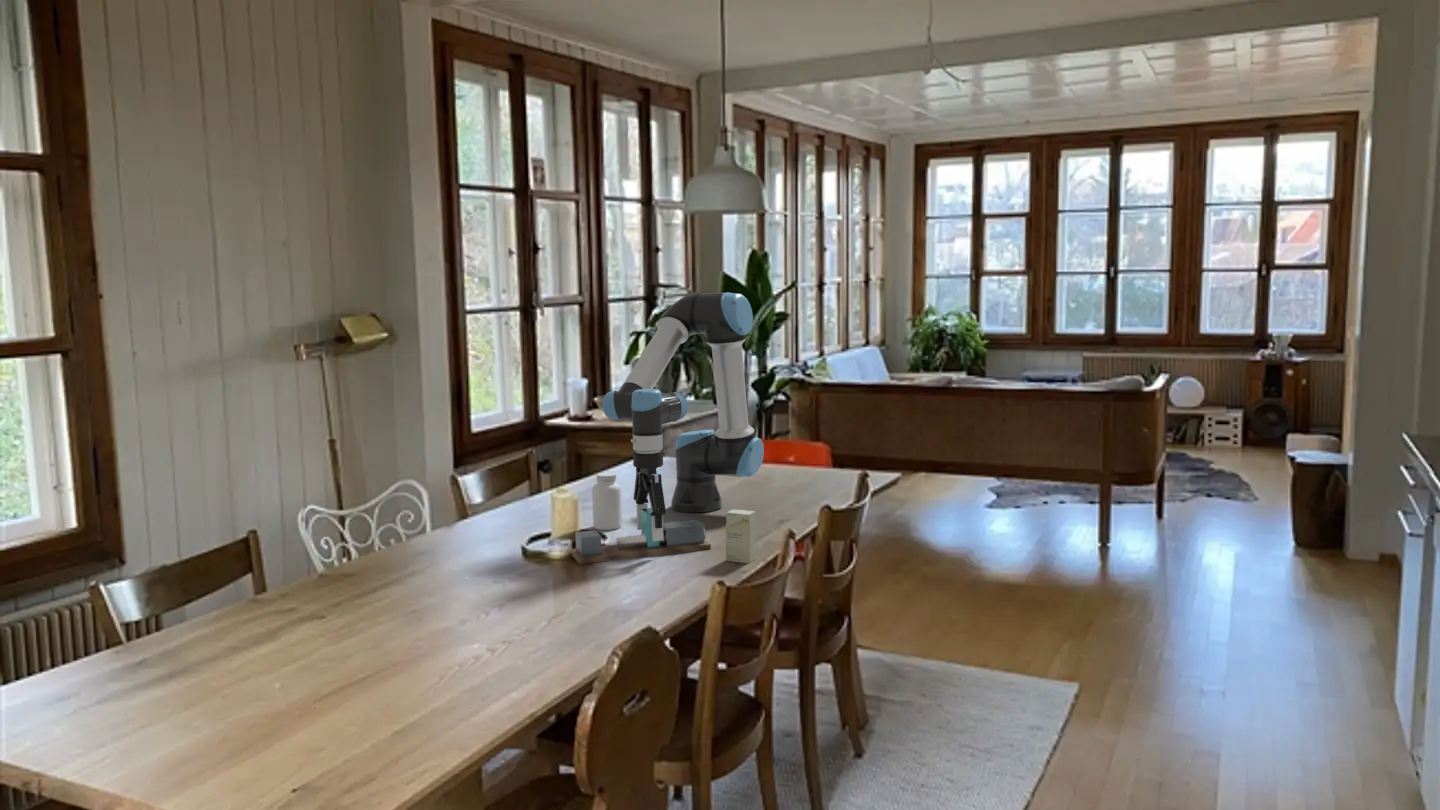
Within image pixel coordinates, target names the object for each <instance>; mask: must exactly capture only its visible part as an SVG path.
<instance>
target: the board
mask: <svg viewBox="0 0 1440 810" xmlns="http://www.w3.org/2000/svg"><path fill="white" fill-rule="evenodd" d="M711 549H712V544H711V543H709V542H708V541H706V539H704V543H700V544H691V545H682V546H673V547H666V544H659V547H653V548H647V547H646V546H640V547H631V548H622V549H618V548H617V544H610V545H601V552H602V555H594V556H585V557H581V556H580V555H579V554H578V553H577V551H576V548H574V549H570V550H571V552H572V555H571V557H572V558H574V560H575V561H576V562H577V563H578V564H579V565H583V564H594V563H602V562H609V561H618V560H627V559H635V558H644V557H652V556H662V555H671V554H679V553H686V552H687V553H689V552H695V551H697V552H698V551H705V550H711Z"/></svg>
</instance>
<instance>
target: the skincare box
mask: <svg viewBox="0 0 1440 810" xmlns="http://www.w3.org/2000/svg"><path fill="white" fill-rule="evenodd" d="M725 516H726V518H725V519H726V520H725V521H726V522H725V523H726V524H725V527H726V529H725V531H726V532H725V542H726V543H725V561H726V562H735V563H740V564H750V563H752V562H753V561H755V560H756V556H755V555H756V547H755V546H756V510H746V509H736V508H735V509H734V508H732V509H730V510H728V511H726V514H725Z"/></svg>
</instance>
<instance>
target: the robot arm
mask: <svg viewBox="0 0 1440 810" xmlns="http://www.w3.org/2000/svg"><path fill="white" fill-rule="evenodd" d="M753 323H754V315H753V309H752V307H751V304H750V302H749V299H748V298H746V297H745V296H744V295H743V294H742V293H733V292H707V293H706V292H704V293H702V292H694V293H690V294H687V295H685V296H683V297H681V298H680V299H677V300H676V302H674V303H673V304H671V306H670V307H668V308H667V309H666V310H665V311H664V313H663V314H662V315H661V316H660V318H659V320H658V322H657V324H656V327H657V329H656V331H655V333H654V335H653V336H652V338H651V339H650V341H649V342H648V344H647V345H646V347H645V349H644V350H643V352H642V354H640V356H639V359H638V360H637V361H636V363H635V364H634V366H633V367H632V369H631V371H630V372H629V374H628V375H627V377H626V379H625V380H624V382H623V383H622V385H621V386H620V389H619V390H618V391H617V390H613V391H612V390H611V391H608V392H607V393H606V394H604V397H603V400H602V411H603V413H604V415H605V417H606V418H608V419H610V420H616V421H621V422H622V421H632V438H631V439H630V442H631V444H632V449H633V450H634V451H633V453H632V457H633V458H632V460H633V461H632V463H633V464H632V465H633V467H634V468H635V483H634V491H633V500H634V501H635V504H636V530H637V531H638V530H639V531H642V530H641V509H646V508H649V507H648V503H650V508H652V512H651V514H650V516H652V541H661V540H663V523H664V515H666V513H667V510H666V503H665V497H664V488H663V484H662V481H663V480H662V474H661V473H657V468H661V467H662V466H664V452H663V451H662V450H663V449H664V434H663V424H664V425H665V424H668V423H669V424H670V423H675V422H678V421H680V420H681V419H683V418H685V416H686V415H687V413H688V409H689V405H688V400H687V399H686V396H684V395H683V394H682V393H680V392H677V391H676V392H674V391H673V392H672V391H669V392H666V393H664V392H663V393H662V392H661V390H660V389H657V388H654V387H655V386H656V384H657V383H658V381H659V379H660V378H661V376H662V375H663V373H664V371H665V370H666V368H667V366H668V365H669V363H670V362H671V359H672V358H673V357H674V355H675V353H676V352H677V349H678V348H679V347H680V345H681V344H683V343H685V342H686V341H688V338H689V337H691V336H694V335H698V334H699V335H704V337H705V344H707V345H708V346H710V348H711V354H712V363H713V365H712V366H713V375H714V376H713V377H714V385H715V386H714V387H715V394H716V395H715V396H716V406H717V408H716V409H717V416H718V417H717V418H718V428H717V429H716V430H714V429H700V430H694V431H687V432H683V433H680V434H678V435H677V437H676V438H675V439H676V440H675V441H676V442H675V456H676V457H675V458H676V459H675V460H676V461H675V462H676V463H675V464H676V467H675V468H676V469H675V470H676V484H675V487H674V491H673V494H672V497H671V505H670V506H671V509H672V510H674V511H676V512H680V513H708V512H713V511H718V510H720V509H721V508H722V507H723V504H722V501H723V500H722V496H721V494H720V491H719V487H718V486H717V482H716V476H728V477H737V478H751V477H754V476H755V475H756V474H758V473H757V472H759V470H760V468H761V466H762V463H763V459H764V453H765V445H764V443H763V440H762V439H761V438H759V437H756V434H755V432H756V431H755V428H754V427H752V425H750V424H749V423H750V422H749V413H748V401H747V400H748V399H747V392H746V391H747V389H746V379H745V367H744V356H743V343H745V342H746V340H747V335H748V334H749V333H750V332H751V331H752V329H753ZM719 508H720V509H719ZM717 509H718V510H717Z"/></svg>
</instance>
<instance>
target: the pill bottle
mask: <svg viewBox="0 0 1440 810" xmlns="http://www.w3.org/2000/svg"><path fill="white" fill-rule="evenodd" d="M591 493H592V494H591V495H592V497H591V498H592V500H591V501H592V519H593V520H592V522H593V523H592V524H593V525H592V526H593V528H594V529H595V530H600V531H610V530H611V531H612V530H617V529H620V528H621V527H622V523H623V520H622V519H623V517H622V488H621V485H620V484H619V483H617V474H616V473H613V472H601V473H600V472H599V473H597V475H596V484H594V485H593V486H592V489H591Z"/></svg>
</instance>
